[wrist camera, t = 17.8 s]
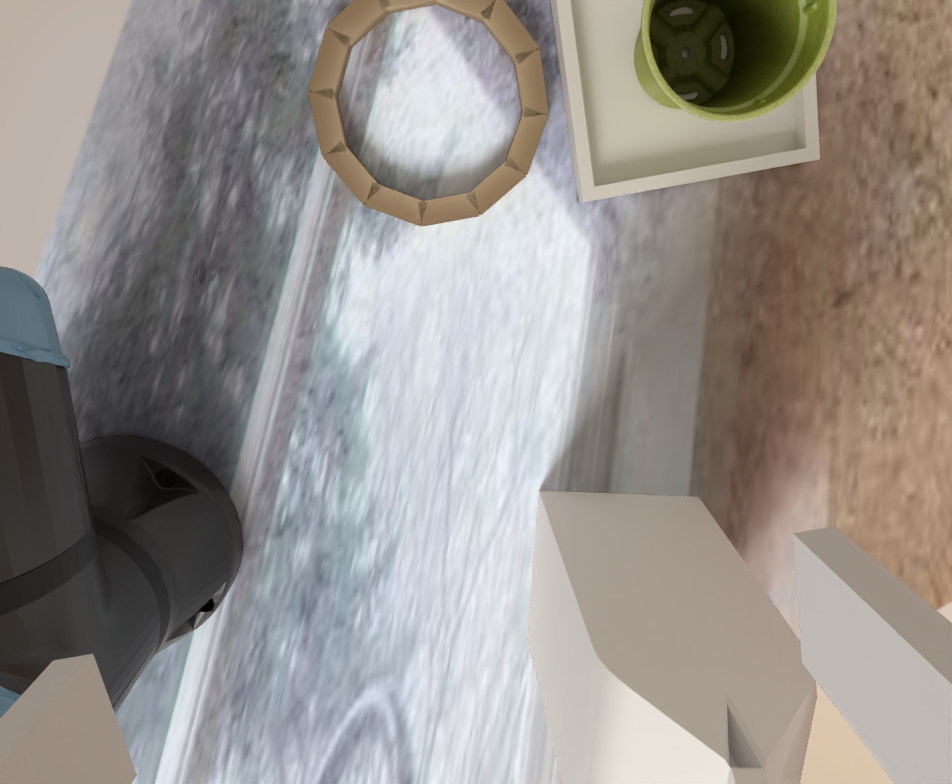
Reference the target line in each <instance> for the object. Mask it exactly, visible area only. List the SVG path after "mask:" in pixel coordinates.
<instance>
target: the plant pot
mask: <svg viewBox="0 0 952 784" xmlns="http://www.w3.org/2000/svg"><path fill="white" fill-rule="evenodd" d="M682 7H689V8H691V9H693V13H691V14H680V15H676V16H675V15H673V16H670V14H671V12H672V11H674V10H676V9H678V8H682ZM836 14H837V0H644V2H643V8H642V17H641V29H640V31H639V34H638V37H637V40H636V44H635V50H634V66H635V71H636V74H637V78H638V80H639V82H640V84H641V86H642V88H643V89H644V90H645V91H646V93H647V94H648V95H649V96H650V97H652V98H653V99H654V100H655V101H657V102H658V103H659V104H661V105H663V106H666V107H669V108H674V109H683V110H685V111H687V112H688V113H690V114H692V115H695V116H697V117H700V118H703V119H706V120H711V121H717V122H738V121H745V120H750V119H753V118H757V117H760V116H762V115H765V114H767V113H769V112H771V111H773V110H775V109H777V108H779V107H780V106H782V105H783V104H785V103H786V102H788V101H789V100H790V99H792V98H793V97H794V96H795V95H796V94H797V93H799V92H800V91H801V90H802V89H803V87H804V86H805V85H806V84H807V83H808V82H809V81H810V79H811V78H812V77H813V76H814V74H815V73H816V71H817V70H818V68H819V67H820V65H821V63H822V61H823V59H824V57H825V55H826V53H827V51H828V48H829V45H830V42H831V39H832V36H833V32H834V28H835V22H836ZM721 35H723V36H724V37H725V38H726V44H727V56H726V57H725V59H721V50H722V45H721V39H720V36H721ZM685 48H687V49H689V50H690V55H689V57H687V58H685V57H683V56H682V51H683V50H684V49H685ZM694 91H698V92H699V94H698V96H697V97H695V98H694V99H686V100H683V99H682V98H681V97H680V96H678V95H677V94H688V93H692V92H694Z"/></svg>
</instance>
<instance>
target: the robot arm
mask: <svg viewBox="0 0 952 784" xmlns="http://www.w3.org/2000/svg"><path fill="white" fill-rule="evenodd" d="M66 368H70V364H69V360H68V359H67V357H66V356H64V355H63V354H62V351H61V347H60V343H59V339H58V334H57V330H56V326H55V322H54V318H53V314H52V310H51V306H50V302H49V299H48V297H47V294H46V293H45V291H44V290H43V288H42V287H41V286H40V285H39V284H38V283H37V282H36V281H35V280H34V279H33V278H31V277H30V276H28V275H26V274H24V273H22V272H20V271H18V270H15V269H11V268H7V267H0V784H132V782H133V780H134V778H135V777H136V775H137V774H136V772H135V769H134V766H133V763H132V761H131V758H130V755H129V752H128V749H127V747H126V744H125V741H124V738H123V735H122V733H121V730H120V727H119V724H118V722H117V719H116V716H115V713H116V711H117V710H118V708H119V707H120V705H121V704H122V702H123V701H124V699H125V698H126V696H127V695H128V693H129V692H130V690H131V689H132V687H133V686H134V684H135V683H136V681H137V680H138V678H139V677H140V675H141V674H142V672H143V671H144V669H145V668H146V667H147V665H148V664H149V662H150V660H151V659H152V658H153V656H154V655H155V654H157V653H158V652H160V651H161V650H163V649H165V648H166V647H168V646H170V645H171V644H173V643H175V642H176V641H178V640H180V639H181V638H183V637H184V636H186V635H188V634H189V633H191V632H193V631H194V630H195V629H197V628H198V627H199V626H201V625H202V624H203V623H204V622H205V621H206V620H207V619H208V618H209V617H210V616H211V615H212V614H213V613H214V612H215V610H216V609H217V608H218V607H219V605H220V604H221V602H222V601H223V599H224V597H225V596H226V594H227V592H228V591H229V589H230V588H231V586H232V584H233V582H234V580H235V578H236V576H237V573H238V570H239V567H240V563H241V557H242V531H241V525H240V521H239V518H238V515H237V512H236V509H235V507H234V504H233V503H232V501H231V499H230V497H229V495H228V493H227V492H226V490H225V489H224V487H223V486H222V485H221V483H220V482H219V481H218V480H217V478H216V477H215V476H214V475H213V474H212V473H211V472H210V471H209V470H208V469H207V468H206V467H204V466H203V465H202V464H201V463H200V462H198V461H197V460H195V459H194V458H193V457H191V456H190V455H188V454H186V453H185V452H183V451H181V450H179V449H177V448H175V447H172V446H170V445H168V444H165V443H162V442H159V441H156V440H152V439H148V438H142V437H135V436H109V437H102V438H98V439H93V440H90V441H86V442H84V443H81V444H80V442H79V436H78V431H77V425H76V419H75V414H74V408H73V403H72V397H71V391H70V386H69V380H68V375H67V369H66ZM793 539H794V553H795V568H796V583H797V598H798V613H799V627H800V642H801V657H802V664H803V665H804V666H805V668H806V669H807V670H808V671H809V673H810V674H811V675H812V677H813V678H814V679H815V681H816V682H817V683H818V685H819V686H820V687H821V688H822V690H823V691H824V692H825V694H826V695H827V696H828V698H829V699H830V700H831V701H832V703H833V704H834V705H835V707H836V708H837V709H838V711H839V712H840V713H841V714H842V716H843V717H844V718H845V720H846V721H847V722H848V724H849V725H850V726H851V728H852V729H853V730H854V731H855V733H856V734H857V735H858V737H859V738H860V739H861V741H862V742H863V743H864V745H865V746H866V747H867V748H868V750H869V751H870V752H871V754H872V755H873V756H874V757H875V759H876V760H877V761H878V763H879V764H880V765H881V767H882V768H883V769H884V771H885V772H886V773H887V775H888V776H889V777H890V778H891V780H892V781H893V782H894V784H952V623H951V622H950V621H949V620H947V619H946V618H945V617H944V616H943V615H941V614H940V613H939V612H938V611H937V610H935V609H934V608H933V607H932V606H931V605H929V604H928V603H927V602H926V601H924V600H923V599H922V598H921V597H920V596H918V595H917V594H916V593H915V592H914V591H912V590H911V589H910V588H909V587H908V586H906V585H905V584H904V583H903V582H902V581H900V580H899V579H898V578H897V577H895V576H894V575H893V574H892V573H891V572H889V571H888V570H887V569H886V568H885V567H883V566H882V565H881V564H880V563H879V562H877V561H876V560H875V559H874V558H873V557H871V556H870V555H869V554H868V553H866V552H865V551H864V550H863V549H862V548H860V547H859V546H858V545H857V544H856V543H854V542H853V541H852V540H851V539H850V538H848V537H847V536H846V535H845V534H844V533H842V532H841V531H840V530H839V529H837V528H836V527H835V526H834V527H828V528H822V529H816V530H811V531H805V532H799V533H793Z"/></svg>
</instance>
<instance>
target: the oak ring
mask: <svg viewBox="0 0 952 784" xmlns="http://www.w3.org/2000/svg"><path fill="white" fill-rule="evenodd" d="M436 4H438V5H440V6H442V7H445V8H447V9H450V10H452V11H455V12H457V13H460V14H462V15H464V16H467V17H469V18H472V19H474V20H477V21H479V22H482V23H484V25H485V26H486V27H487V29H488V30H489V31H490V33H491V34H492V35H493V37H494V38H495V39H496V41H497V42H498V43H499V45H500V46H501V47H502V49H503V50H504V51H505V52H506V54H507V55H508V56H509V58H510V59H511V60H512V62H513V63H514V66H515V72H516V79H517V86H518V92H519V99H520V106H521V112H522V116H521V119H520V122H519V124H518V127H517V130H516V133H515V136H514V138H513V141H512V144H511V147H510V150H509V152H508V155H507V158H506V161H505V162H504V163H503V164H502V165H501V166H499V167H498V168H497V169H496V170H495V171H494V172H493V173H491V174H490V175H489V176H488V177H487V178H486V179H485V180H483V181H482V182H481V183H480V184H479V185H478V186H477V187H475V188H474V189H473V190H472V191H471V192H469V193H464V194H458V195H453V196H447V197H442V198H437V199H431V200H426V201H422V200H419V199H416V198H414V197H411V196H408V195H406V194H403V193H400V192H398V191H395V190H392V189H390V188H387V187H384V186H382V185H379V183H378V182H377V181H376V180H375V179H374V177H373V176H372V175H371V174H370V173H369V171H368V170H367V169H366V168H365V167H364V166H363V164H362V163H361V162H360V161H359V160H358V158H357V157H356V156H355V155H354V154H353V152H352V151H351V150H350V149H349V148H348V145H347V140H346V135H345V131H344V126H343V121H342V116H341V112H340V107H339V102H338V93H339V90H340V87H341V83H342V80H343V76H344V73H345V70H346V66H347V63H348V59H349V56H350V53H351V49H352V47H353V46H354V45H355V44H357V43H358V42H359V41H360V40H361V39H362V38H363V37H364V36H365V35H366V34H367V33H368V32H369V31H370V30H371V29H372V28H374V27H375V26H376V25H377V24H378V23H379V22H380V21H381V20H382V19H383V18H384V17H385V16H386V15H387V14H388V13H393V12H399V11H404V10H409V9H415V8H420V7H425V6H431V5H436ZM327 26H328V27H329V28H330V29H328V28H326V29H325V33H324V36H323V40H322V43H321V47H320V50H319V54H318V57H317V61H316V64H315V68H314V71H313V75H312V78H311V82H310V85H309V89H308V90H309V91H310V92H308V94H309V99H310V103H311V108H312V112H313V117H314V121H315V126H316V131H317V135H318V140H319V144H320V149H321V153H322V155H323V156H324V157H323V158H324V159H325V160H326V162H327V163H328V164H329V165H330V166H331V167H332V169H333V170H334V171H335V172H336V173H337V174H338V176H339V177H340V178H341V179H342V180H343V181H344V183H345V184H346V185H347V186H348V187H349V189H350V190H351V191H352V192H353V193H354V194H355V196H356V197H357V198H358V199H359V200H360V201H361V203H362V204H364V205H365V206H367V207H370V208H372V209H375V210H378V211H380V212H383V213H386V214H388V215H391V216H394V217H397V218H399V219H402V220H405V221H407V222H410V223H413V224H415V225H418V226H421V225H422V226H427V225H433V224H438V223H444V222H449V221H455V220H460V219H466V218H471V217H477V216H479V214H480V215H482V214H483V213H484V212H485V211H487V210H488V209H489V208H490V207H491V206H492V205H493V204H495V203H496V202H497V201H498V200H499V199H500V198H502V197H503V196H504V195H505V194H506V193H507V192H508V191H510V190H511V189H512V188H513V187H514V186H515V185H517V184H518V183H519V182H520V181H521V180H522V179H524V178H525V177H526V176H525V175H527V174H528V171H529V168H530V166H531V163H532V160H533V158H534V155H535V152H536V149H537V147H538V144H539V141H540V138H541V136H542V133H543V130H544V127H545V125H546V122H547V119H548V114H549V110H548V103H547V96H546V89H545V82H544V74H543V67H542V60H541V53H540V49H539V50H538V48H539V46H538V45H537V44H536V42H535V41H534V39H533V38H532V37H531V35H530V34H529V33H528V31H527V30H526V29H525V27H524V26H523V25H522V23H521V22H520V21H519V19H518V18H517V17H516V15H515V14H514V13H513V11H512V10H511V9H510V7H509V6H508V5H507V3H506V2H505V0H353V1H352V2H351V3H350V4H349V5H348V6H347V7H346V8H345V9H344V10H343V11H342V12H341V13H340V14H339V15H338V16H337V17H336V18H334V19H333V20H332V21H331V22H330V23H329V24H328V25H327ZM478 212H479V213H478Z"/></svg>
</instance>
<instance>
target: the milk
mask: <svg viewBox="0 0 952 784" xmlns="http://www.w3.org/2000/svg"><path fill="white" fill-rule="evenodd" d="M527 642H528V646H529V650H530V654H531V659H532V663H533V667H534V671H535V675H536V679H537V683H538V687H539V691H540V695H541V699H542V703H543V707H544V711H545V715H546V719H547V724H548V728H549V732H550V736H551V740H552V744H553V748H554V752H555V756H556V760H557V764H558V768H559V772H560V776H561V780H562V784H800V780H801V775H802V769H803V765H804V760H805V755H806V750H807V744H808V739H809V734H810V729H811V724H812V720H813V714H814V709H815V704H816V699H817V691H816V681H815V679H814V678H813V677H812V675H811V674H810V673H809V671H808V670H807V669H806V668H805V666H804V665H803V664H802V657H801V642H800V640H799V639H798V637H797V636H796V634H795V633H794V632H793V630H792V629H791V627H790V626H789V624H788V623H787V622H786V620H785V619H784V617H783V616H782V615H781V613H780V612H779V610H778V609H777V607H776V606H775V605H774V603H773V602H772V600H771V599H770V598H769V596H768V595H767V593H766V592H765V590H764V589H763V588H762V586H761V585H760V583H759V582H758V580H757V579H756V578H755V576H754V575H753V573H752V572H751V571H750V569H749V568H748V566H747V565H746V563H745V562H744V561H743V559H742V558H741V556H740V555H739V554H738V552H737V551H736V549H735V548H734V546H733V545H732V544H731V542H730V541H729V539H728V538H727V537H726V535H725V534H724V532H723V531H722V529H721V528H720V527H719V525H718V524H717V522H716V521H715V519H714V518H713V517H712V515H711V514H710V512H709V511H708V510H707V508H706V507H705V505H704V504H703V502H702V501H701V500H700V498H699V497H691V496H666V495H640V494H615V493H590V492H564V491H539V492H538V505H537V517H536V530H535V543H534V555H533V568H532V580H531V593H530V605H529V618H528V630H527Z"/></svg>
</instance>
